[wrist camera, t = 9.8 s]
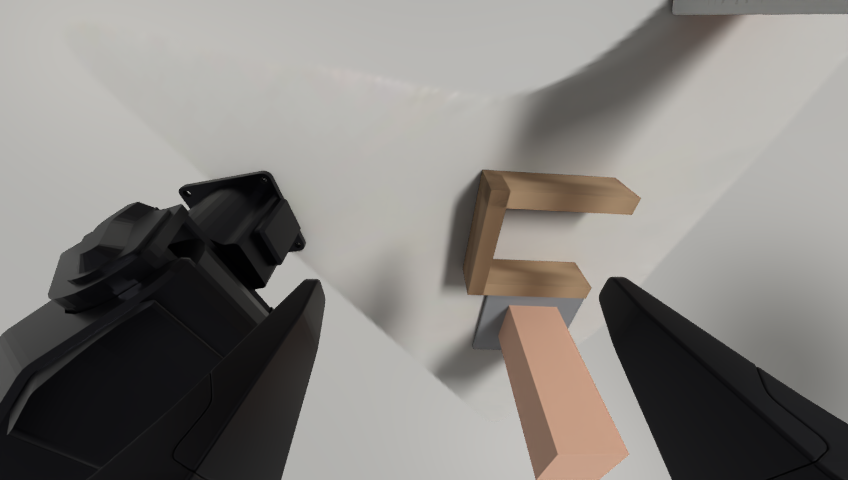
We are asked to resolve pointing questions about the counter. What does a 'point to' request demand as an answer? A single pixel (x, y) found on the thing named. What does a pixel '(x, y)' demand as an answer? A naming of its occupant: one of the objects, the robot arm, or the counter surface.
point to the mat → (499, 305)
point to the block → (557, 398)
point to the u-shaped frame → (534, 195)
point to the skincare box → (759, 7)
